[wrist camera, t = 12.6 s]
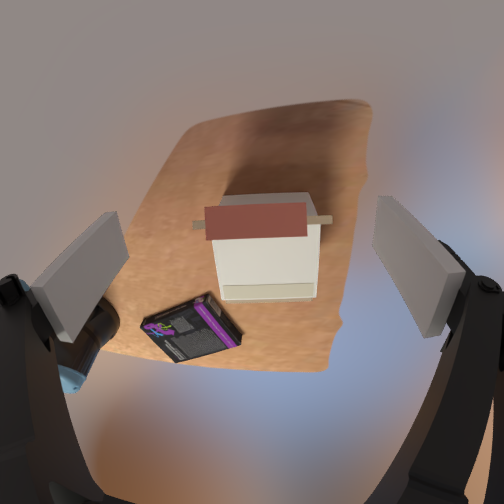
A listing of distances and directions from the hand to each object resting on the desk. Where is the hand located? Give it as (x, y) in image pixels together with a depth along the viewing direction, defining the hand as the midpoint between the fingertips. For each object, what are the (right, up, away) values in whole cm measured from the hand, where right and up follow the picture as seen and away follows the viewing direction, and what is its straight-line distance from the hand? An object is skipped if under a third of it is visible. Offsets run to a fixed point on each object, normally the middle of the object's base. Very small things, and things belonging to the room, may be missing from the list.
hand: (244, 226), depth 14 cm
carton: (+3, +3, +36) cm, 36 cm away
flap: (+1, +1, +12) cm, 13 cm away
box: (-14, -18, +50) cm, 55 cm away
